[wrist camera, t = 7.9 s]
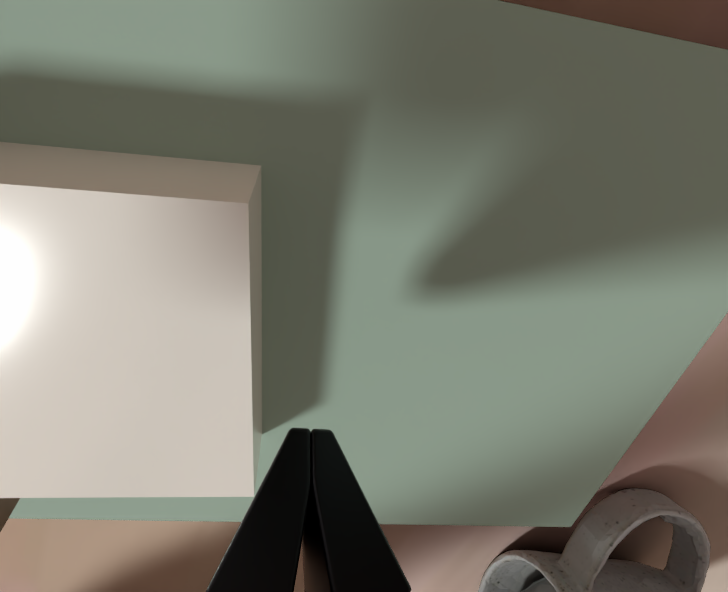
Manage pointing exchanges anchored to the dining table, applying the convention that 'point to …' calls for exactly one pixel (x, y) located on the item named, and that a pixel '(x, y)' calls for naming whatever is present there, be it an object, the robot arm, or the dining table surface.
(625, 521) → the ceramic mug
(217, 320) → the ivory tile
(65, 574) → the dining table surface
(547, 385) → the sage mat
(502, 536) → the dining table surface
